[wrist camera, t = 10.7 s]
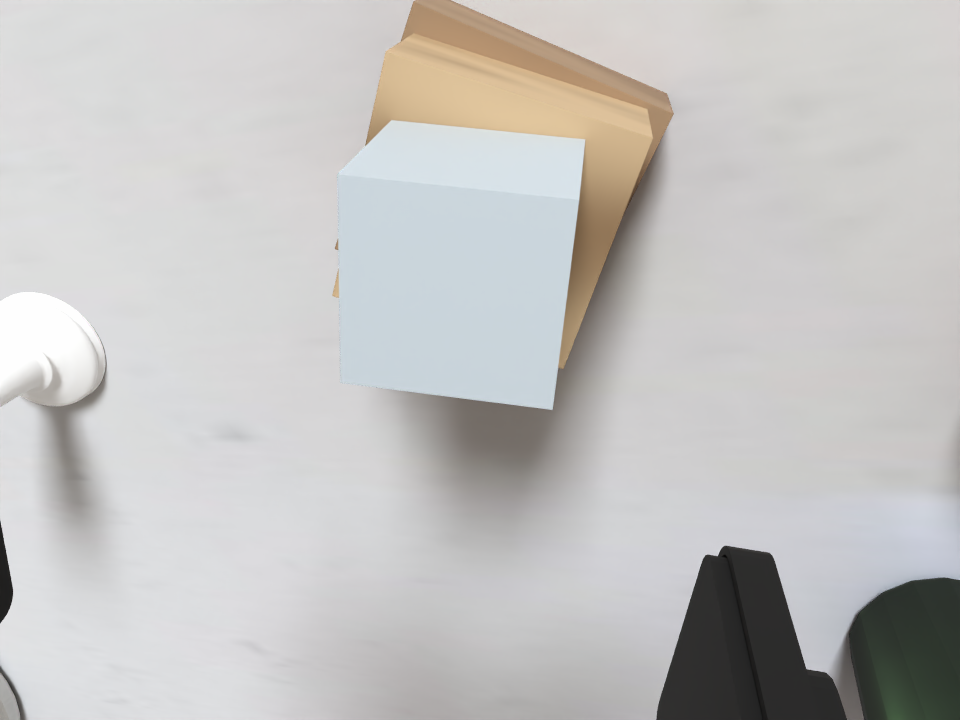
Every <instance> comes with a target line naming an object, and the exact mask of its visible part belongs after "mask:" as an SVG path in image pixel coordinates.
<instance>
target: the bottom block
mask: <svg viewBox="0 0 960 720" xmlns="http://www.w3.org/2000/svg"><path fill="white" fill-rule="evenodd" d="M413 33H414V34H418V35H421V36H424V37H427V38H430V39H433V40H436V41H439V42H442V43H445V44H448V45H451V46H455V47H458V48H461V49H464V50H467V51H470V52H473V53H476V54H479V55H482V56H485V57H489V58H492V59H495V60H498V61H501V62H504V63H507V64H510V65H513V66H516V67H519V68H522V69H526V70H529V71H532V72H535V73H538V74H541V75H544V76H547V77H550V78H553V79H556V80H559V81H563V82H566V83H569V84H572V85H575V86H578V87H581V88H584V89H587V90H590V91H593V92H597V93H600V94H603V95H606V96H609V97H612V98H615V99H618V100H621V101H624V102H627V103H630V104H634V105H637V106H640V107H643V108H646V109H647V110H648V115H649V120H650V125H651V130H652V135H653V139H652V142H651V144H650V147H649V149H648V152H647V155H646V157H645V160H644V162H643V165H642V168H641V170H640V173H639V175H638V178H637V180H636V183H635V186H634V188H633V191H632V193H631V196H630V199H629V201H628V204H627V206H626V209H627V207H628V205H629V203H630V201H631V199H632V197H633V195H634V193H635V191H636V189H637V187H638V185H639V183H640V181H641V179H642V177H643V175H644V173H645V171H646V169H647V167H648V165H649V163H650V161H651V159H652V157H653V154H654V152H655V150H656V148H657V146H658V144H659V142H660V140H661V138H662V136H663V134H664V132H665V130H666V128H667V126H668V124H669V122H670V120H671V118H672V116H673V114H674V113H673V110H672V107H671V104H670V101H669V98H668V95H667V93H664V92H662V91H660V90H657V89H655V88H653V87H650V86H648V85H646V84H643V83H641V82H639V81H636V80H634V79H632V78H630V77H627V76H625V75H623V74H620V73H618V72H616V71H613V70H611V69H609V68H606V67H604V66H602V65H599V64H597V63H595V62H592V61H590V60H588V59H585V58H583V57H581V56H579V55H576V54H574V53H572V52H569V51H567V50H565V49H562V48H560V47H558V46H555V45H553V44H551V43H548V42H546V41H544V40H541V39H539V38H537V37H535V36H532V35H530V34H528V33H525V32H523V31H521V30H518V29H516V28H514V27H511V26H509V25H507V24H504V23H502V22H500V21H497V20H495V19H493V18H490V17H488V16H486V15H484V14H481V13H479V12H477V11H474V10H472V9H470V8H467V7H465V6H463V5H460V4H458V3H456V2H453V1H451V0H416V1H414V2H413V5H412V8H411V11H410V14H409V17H408V20H407V23H406V27H405V30H404V33H403V36H402V39H401V41H403V40H404V39H406V38H407V37H409V36H410V35H412V34H413ZM626 209H625V211H626ZM625 211H624V213H625ZM623 215H624V214H623ZM335 249H336V250H338V240H337V243H336V246H335Z"/></svg>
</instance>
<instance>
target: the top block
mask: <svg viewBox="0 0 960 720" xmlns="http://www.w3.org/2000/svg"><path fill="white" fill-rule="evenodd" d="M391 120H396V121H406V122H416V123H426V124H436V125H446V126H456V127H466V128H476V129H486V130H496V131H506V132H516V133H526V134H537V135H547V136H557V137H567V138H577V139H585V148H584V158H583V168H582V177H581V187H580V197H579V205H578V213H577V221H576V229H575V237H574V245H573V253H572V261H571V269H570V277H569V285H568V292H567V300H566V308H565V316H564V324H563V332H562V340H561V348H560V356H559V364H558V368H561V369H564V366H565V364H566V361H567V359H568V356H569V353H570V351H571V348H572V346H573V343H574V340H575V338H576V335H577V333H578V330H579V328H580V325H581V322H582V320H583V317H584V315H585V312H586V309H587V307H588V304H589V302H590V299H591V297H592V294H593V291H594V289H595V286H596V284H597V281H598V279H599V276H600V273H601V271H602V268H603V266H604V263H605V260H606V258H607V255H608V253H609V250H610V248H611V245H612V242H613V240H614V237H615V235H616V232H617V229H618V227H619V224H620V222H621V219H622V217H623V214H624V211H625V209H626V206H627V204H628V201H629V199H630V196H631V193H632V191H633V188H634V186H635V183H636V180H637V178H638V175H639V173H640V170H641V168H642V165H643V162H644V160H645V157H646V155H647V152H648V149H649V147H650V144H651V142H652V139H653V135H652V130H651V125H650V120H649V115H648V110H647V109H646V108H643V107H640V106H637V105H634V104H630V103H627V102H624V101H621V100H618V99H615V98H612V97H609V96H606V95H603V94H600V93H597V92H593V91H590V90H587V89H584V88H581V87H578V86H575V85H572V84H569V83H566V82H563V81H559V80H556V79H553V78H550V77H547V76H544V75H541V74H538V73H535V72H532V71H529V70H526V69H522V68H519V67H516V66H513V65H510V64H507V63H504V62H501V61H498V60H495V59H492V58H489V57H485V56H482V55H479V54H476V53H473V52H470V51H467V50H464V49H461V48H458V47H455V46H451V45H448V44H445V43H442V42H439V41H436V40H433V39H430V38H427V37H424V36H421V35H418V34H414V33H413V34H412V35H410V36H409V37H407V38H406V39H404V40H403V41H401V42H400V43H398V44H397V45H395V46H393V47H392V48H390V49H389V50H387V51H386V53H385V57H384V62H383V67H382V71H381V76H380V80H379V85H378V90H377V94H376V99H375V103H374V108H373V112H372V117H371V122H370V126H369V131H368V135H367V140H366V144H365V146H366V145H367V144H368V143H369V142H370V141H371V140H372V139H373V138H374V137H375V136H376V135H377V134H378V133H379V132H380V131H381V130H382V129H383V128H384V127H385V126H386V125H387V124H388V123H389V122H390V121H391ZM333 296H334V297H337V298H339V268H338V273H337V277H336V282H335V286H334V291H333Z"/></svg>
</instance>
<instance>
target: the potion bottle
mask: <svg viewBox="0 0 960 720" xmlns="http://www.w3.org/2000/svg"><path fill="white" fill-rule="evenodd" d="M849 638H850V649H851V658H852V663H853V668H854V673H855V677H856V682H857V687H858V692H859V696H860V701H861V706H862V711H863V716H864V720H960V580H955V579H950V578H934V579H924V580H914V581H910V582H907V583H905V584H902V585H900V586H897V587H895V588H892V589H890V590H887V591H885V592H883V593H882V594H881V595H880V596H878V597H877V598H876V599H875V600H874V601H873V602H871V603H870V604H869V605H868V606H867V607H865V608H864V609H863V610H862V611H861V612H860V613H859V615H858V617H857V620H856V622H855V624H854V626H853V628H852V630H851V632H850V634H849Z"/></svg>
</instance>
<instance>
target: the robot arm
mask: <svg viewBox="0 0 960 720" xmlns="http://www.w3.org/2000/svg"><path fill="white" fill-rule="evenodd" d="M12 598H13V587H12V582H11V576H10V571H9V565H8V560H7V555H6V549H5V544H4V538H3V533H2V528H1V522H0V623H1V622H2V620H3V619H4V618H5V616H6V615H7V613H8V611H9V609H10V606H11V603H12ZM0 720H20V712H19V709H18V705H17V702H16V698H15V696H14V694H13V692H12V690H11V688H10V686H9V684H8V682H7V681H6V679H5V678H4V677H3V675H2V674H1V673H0ZM657 720H847V718H846V715H845V712H844V709H843V706H842V703H841V700H840V697H839V694H838V691H837V689H836V686H835V684H834V682H833V680H832V678H831V677H830V676H829V675H828V674H827V673H825V672H819V671H813V670H807V669H806V667H805V664H804V660H803V657H802V653H801V650H800V646H799V643H798V640H797V636H796V633H795V629H794V626H793V622H792V619H791V616H790V612H789V609H788V605H787V602H786V598H785V595H784V592H783V588H782V585H781V581H780V578H779V574H778V571H777V568H776V564H775V561H774V559H773V556H772V555H771V554H770V553H767V552H761V551H755V550H749V549H742V548H736V547H730V546H724V547H723V548H722V549H721V550H720V553H719V555H718V556H713V555H706V556H705V557H704V558H703V561H702V564H701V567H700V570H699V573H698V577H697V580H696V583H695V586H694V590H693V593H692V596H691V600H690V603H689V606H688V609H687V613H686V616H685V619H684V622H683V626H682V629H681V632H680V635H679V639H678V642H677V645H676V648H675V652H674V655H673V658H672V662H671V665H670V668H669V671H668V675H667V678H666V681H665V684H664V688H663V691H662V694H661V697H660V701H659V705H658V711H657Z"/></svg>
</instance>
